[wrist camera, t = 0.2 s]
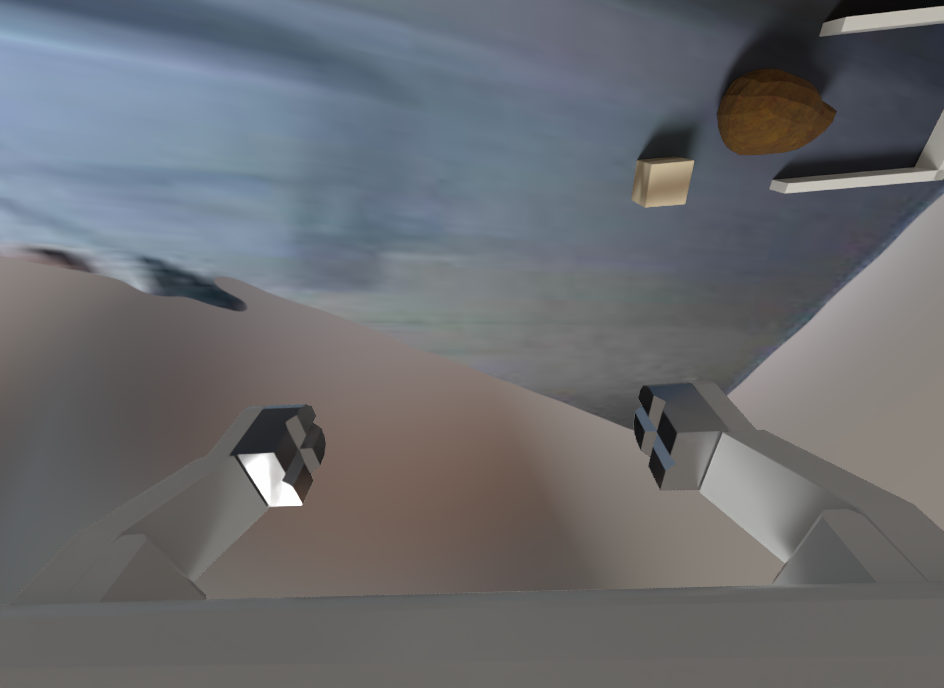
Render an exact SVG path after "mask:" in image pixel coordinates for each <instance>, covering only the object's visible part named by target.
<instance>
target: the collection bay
mask: <svg viewBox="0 0 944 688" xmlns="http://www.w3.org/2000/svg"><path fill="white" fill-rule="evenodd" d="M939 23H944V6H939V7H930V8H921V9H913V10H904V11H895V12H886V13H877V14H868V15H860V16H851V17H844V18H841V19H837V20H833V21H829V22H825V23H823V26H822V29H821V32H820V35H819V37H822V36H831V35H840V34H849V33H858V32H867V31H876V30H885V29H894V28H903V27H912V26H921V25H930V24H939ZM943 179H944V110H943V112H942V114H941V116H940V118H939V120H938V122H937V124H936V126H935V128H934V130H933V132H932V134H931V136H930V138H929V140H928V141H927V143H926V145H925V147H924V149H923V151H922V153H921V155H920V157H919V159H918V161H917V163H916V165H915V167H911V168H900V169H888V170H877V171H866V172H855V173H843V174H832V175H821V176H810V177H798V178H787V179H776V180H772V182H771V185H770V188H769V189H770V190H774V191H778V192H781V193H795V192H807V191H818V190H830V189H841V188H853V187H864V186H876V185H887V184H899V183H911V182H922V181H934V180H943Z"/></svg>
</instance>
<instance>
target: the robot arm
mask: <svg viewBox="0 0 944 688" xmlns="http://www.w3.org/2000/svg"><path fill="white" fill-rule="evenodd" d="M638 399H639V401H640V403H641V405H642V406H641V407H640V408H639V409H638V410H637V411H636V412H635V416H634V422H633V423H634V434H635V437H636V441H637V443H638V445H639V448H640V450H641V451H642V452H644V453H645V454H646V455H648V456H649V457H650V461H649V465H648V467H649V469H650V471H651V473H652V475H653V477H654V479H655V481H656V483H657V485H658V487H659V489H660V490H700V493H701V494H703V495H704V496H705V497H706V498H707V499H709V500H710V501H711V502H712V503H713V504H715V505H716V506H717V507H718V508H719V509H721V510H722V511H723V512H724V513H725V514H727V515H728V516H729V517H730V518H731V519H733V520H734V521H735V522H736V523H737V524H739V525H740V526H741V527H742V528H743V529H745V530H746V531H747V532H748V533H749V534H750V535H752V536H753V537H754V538H756V540H758V541H759V542H760V543H761V544H763V545H764V546H765V547H766V548H767V549H768V550H770V551H771V552H772V553H773V554H774V555H776V556H777V557H778V558H779V559H780V560H782V561H783V562H784V563H785V565H784V566H783V567H782V569H781V570H780V572H779V573H778V574H777V576H776V577H775V579H774V581H773V583H772V585H767V586H727V587H688V588H687V587H685V588H649V589H648V588H646V589H606V590H605V589H603V590H567V591H565V590H562V591H522V592H480V593H441V594H402V595H364V596H325V597H324V596H323V597H283V598H246V599H244V598H243V599H207V598H206V594H205V593H204V592H203V591H201V589H200V588H199V587H197V585H195V583H194V581H195V580H196V579H197V578H198V577H199V576H200V575H201V574H202V573H203V572H204V571H205V570H206V569H207V568H208V567H209V566H210V565H211V564H212V563H213V562H214V561H215V560H217V559H218V558H219V557H220V555H222V554H223V553H224V552H225V551H226V550H227V549H228V547H230V546H231V545H232V544H233V543H234V542H235V541H236V540H237V539H238V538H239V537H240V536H241V535H242V534H243V533H244V532H245V531H246V530H247V529H248V528H249V527H250V526H251V525H252V524H253V523H254V522H255V521H256V520H257V519H258V518H259V517H260V516H262V514H263V513H265V512H266V511H267V510H268V508H267V507H276V506H277V507H278V506H292V505H303V503H304V500H305V498H306V496H307V494H308V491H309V489H310V487H311V485H312V483H313V478H312V475H311V473H312V472H313V471H314V470H315V469H317V468H318V467H319V466H320V465H321V462H322V460H323V458H324V454H325V446H326V442H325V436H324V433H323V431H322V429H321V428H320V427H319V426H317V425H316V424H314V423H313V421H314V419H315V417H316V415H315V413H314V411H313V408H312V406H309V405H307V404H305V405H304V404H303V405H274V406H273V405H272V406H253V407H248V408H246V409H244V410H243V411H242V412H241V414H240V415H239V416H238V417H237V418H236V420H235V421H234V422H233V423H232V425H231V426H230V427H229V428H228V430H227V431H226V432H225V433H224V435H223V436H222V437H221V438H220V440H219V441H218V442H217V443H216V445H215V446H214V447H213V449H212V450H211V451H210V452H209V454H208V455H207V456H206V457H201V458H198V459H196V460H195V461H193V462H191V463H190V464H188V465H186V466H185V467H183V468H182V469H180V470H178V471H177V472H175V473H174V474H172V475H170V476H169V477H167V478H166V479H164V480H162V481H161V482H159V483H158V484H156V485H154V486H153V487H151V488H150V489H148V490H146V491H145V492H143V493H141V494H140V495H138V496H137V497H135V498H133V499H132V500H130V501H128V502H127V503H125V504H124V505H122V506H120V507H119V508H117V509H116V510H114V511H112V512H111V513H109V514H108V515H106V516H104V517H103V518H101V519H99V520H98V521H96V522H95V523H93V524H91V525H90V526H88V527H87V528H85V529H83V530H82V531H80V532H79V533H77V534H75V535H74V536H73V537H72V538H71V539H70V540H69V542H68V543H67V544H66V545H65V546H64V547H63V548H62V549H61V550H60V551H59V552H58V553H57V554H56V555H55V556H54V557H53V558H52V559H51V560H50V561H49V562H48V564H47V565H46V566H45V567H44V568H43V569H42V570H41V571H40V572H39V573H38V574H37V575H36V576H35V577H34V578H33V579H32V580H31V581H30V582H29V583H28V585H27V586H26V587H25V588H24V589H23V590H22V591H21V592H20V593H19V594H18V595H17V596H16V597H15V598H14V599H13V600H12V601H11V602H10V603H9V604H3V605H0V688H944V531H943V530H942V529H940V528H939V527H938V526H937V525H936V524H935V523H934V522H933V521H932V520H931V519H929V518H928V517H927V516H926V515H925V514H924V513H923V512H922V511H921V510H919V509H918V508H917V507H916V506H915V505H913V504H912V503H910V502H907V501H906V500H904V499H902V498H900V497H898V496H896V495H894V494H892V493H890V492H888V491H886V490H883V489H882V488H880V487H878V486H876V485H874V484H872V483H870V482H868V481H866V480H864V479H861V478H860V477H858V476H856V475H854V474H852V473H850V472H847V471H845V470H844V469H842V468H840V467H837V466H835V465H834V464H832V463H829V462H827V461H825V460H823V459H821V458H819V457H817V456H815V455H813V454H811V453H809V452H807V451H805V450H803V449H801V448H799V447H797V446H795V445H793V444H791V443H789V442H787V441H785V440H783V439H781V438H779V437H777V436H775V435H773V434H771V433H769V432H767V431H765V430H756V429H755V428H754V427H753V425H752V424H751V423H750V422H749V421H748V420H747V419H746V418H745V416H744V415H743V414H742V413H741V412H740V411H739V410H738V409H737V407H736V406H735V405H734V404H733V403H732V402H731V401H730V399H729V398H728V397H727V396H726V395H725V394H724V393H723V391H722V390H721V389H720V388H719V387H718V386H717V385H716V384H715V383H714V382H712V381H710V380H706V381H693V382H686V383H670V384H654V385H643V386H642V387H641V389H640V392H639V396H638Z"/></svg>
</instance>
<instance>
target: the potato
mask: <svg viewBox="0 0 944 688" xmlns="http://www.w3.org/2000/svg"><path fill="white" fill-rule="evenodd" d="M836 112H837V111H836V110H835V109H833V108H832V107H831V106H830V105H828V104H827V103H825V102H823V101H822V100H821V97H820V94H819V92H818V90H817V89H816V88H815V87H814V86H813V85H812V84H811V82H809V81H806V80H804V79H802V78H799V77H797V76H794V75H792V74H790V73H788V72H785V71H782V70H780V69H771V68H765V69H758V70H753V71H751V72H748V73H746V74H744V75H742V76H741V77H739V78H737V79H735V80H734V81H733V82H732V84H731V85H730V87H729V88H728V90H727V91H726V93H725V95H724V96H723V98H722V100H721V103H720V106H719V109H718V112H717V120H718V128H719V132H720V135H721V138H722V140H723V142H724V143H725V145H726V146H727V148H729V149H730V150H732V151H733V152H735V153H737V154H739V155H763V154H773V153H784V152H788V151H792V150H796V149H799V148H800V147H802V146H804V145H806V144H808V143H810V142H811V141H812V140H814V139H815V138H816V137H818V136H819V135H820V134H821V133H823V132H824V131H825V130H826V129H827V128H828V127H829V125H830V124H831V123H832V122H833V120H834V117H835V114H836Z"/></svg>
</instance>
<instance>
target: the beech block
mask: <svg viewBox="0 0 944 688" xmlns="http://www.w3.org/2000/svg"><path fill="white" fill-rule="evenodd" d="M693 165H694V160H689V159H685V158H680V157H676V156H675V157H665V158H654V159H643V160H637V163H636V171H635V178H634V185H633V192H632V199H631V200H633V201H635V202H636V203H638V204H640V205H642V206H643V207H656V206H668V205H679V204H685V202H686V197H687V193H688V188H689V183H690V179H691V174H692V169H693Z"/></svg>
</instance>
